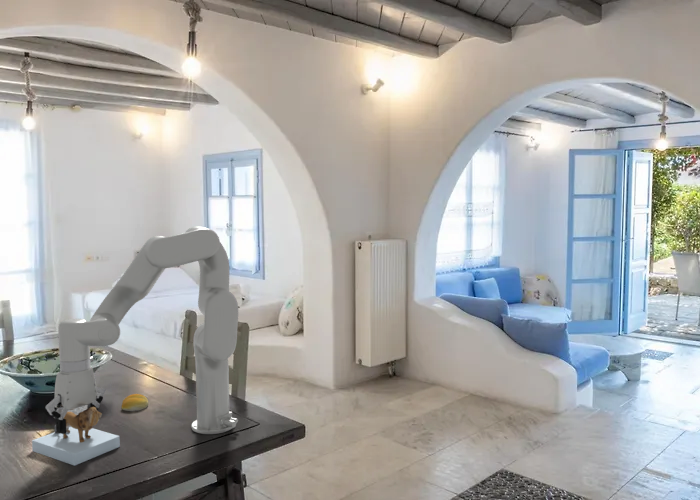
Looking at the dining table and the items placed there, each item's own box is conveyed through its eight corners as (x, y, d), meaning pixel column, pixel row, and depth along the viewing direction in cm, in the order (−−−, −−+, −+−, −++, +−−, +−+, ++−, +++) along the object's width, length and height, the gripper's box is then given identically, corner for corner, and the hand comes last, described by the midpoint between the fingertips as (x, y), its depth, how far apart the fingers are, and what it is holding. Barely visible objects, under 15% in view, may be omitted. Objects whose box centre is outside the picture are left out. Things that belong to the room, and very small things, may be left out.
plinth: (119, 446, 170) (119, 429, 170) (74, 465, 158) (73, 446, 158) (78, 434, 179) (77, 417, 179) (32, 451, 167) (31, 433, 167)
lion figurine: (105, 437, 169) (104, 405, 168) (92, 444, 164) (90, 411, 163) (62, 431, 174) (61, 399, 173) (48, 438, 169) (46, 405, 168)
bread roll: (120, 413, 197) (120, 401, 197) (123, 404, 206) (122, 392, 205) (148, 410, 199) (147, 398, 199) (149, 402, 208) (148, 390, 208)
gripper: (94, 356, 175) (96, 415, 177) (36, 371, 161) (39, 435, 162) (111, 359, 172) (113, 419, 173) (54, 375, 157) (57, 440, 158)
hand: (77, 427), depth 168 cm, fingers open, 9 cm apart
